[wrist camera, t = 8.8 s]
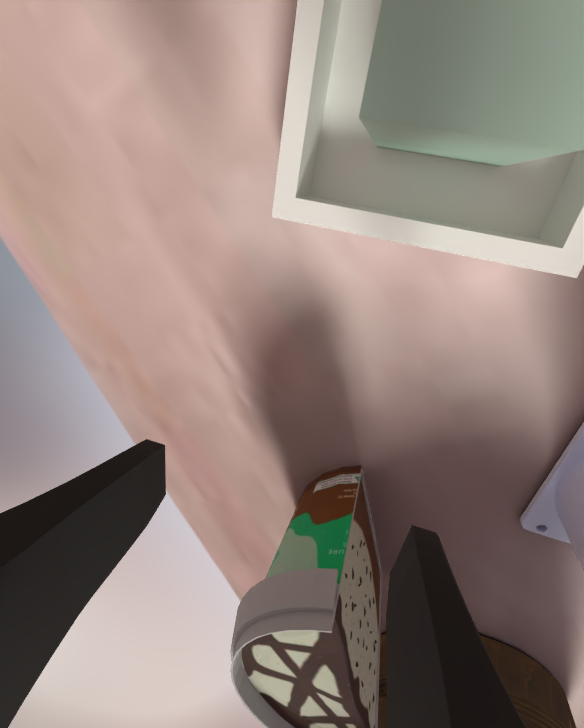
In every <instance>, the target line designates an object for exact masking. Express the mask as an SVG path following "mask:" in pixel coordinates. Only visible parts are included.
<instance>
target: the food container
mask: <svg viewBox="0 0 584 728" xmlns="http://www.w3.org/2000/svg"><path fill="white" fill-rule="evenodd" d="M381 603H382V568H381V563H380V557H379V552H378V547H377V542H376V536H375V531H374V526H373V521H372V516H371V510H370V505H369V500H368V495H367V489H366V484H365V479H364V474H363V469H362V466H351V467H342V468H339V469H336V470H333V471H330V472H327V473H324V474H322V475H321V476H319V477H318V478H317V479H315V480H314V481H313V482H312V483H310V484H309V485H308V486H307V488H306V489H305V491H304V493H303V495H302V497H301V499H300V501H299V503H298V505H297V508H296V510H295V512H294V514H293V517H292V519H291V521H290V524H289V526H288V528H287V530H286V533H285V535H284V537H283V540H282V542H281V544H280V546H279V549H278V551H277V553H276V556H275V558H274V560H273V563H272V565H271V567H270V569H269V572H268V574H267V576H266V579H265V580H262V581H261V582H259V583H258V584H256V585H255V586H253V587H252V588H251V589H250V590H249V591H248V592H247V593H246V594H245V596H244V597H243V598H242V600H241V602H240V605H239V607H238V611H237V616H236V622H235V628H234V633H233V639H232V645H231V660H232V664H231V677H232V682H233V685H234V687H235V690H236V692H237V694H238V695H239V697H240V699H241V700H242V702H243V703H244V705H245V706H246V707H247V708H248V710H249V711H250V712H251V713H252V714H253V715H254V716H255V717H256V718H257V719H258V720H259V721H260V722H261V723H262V724H263V725H264V726H265V727H267V728H378V698H379V666H380V635H381Z"/></svg>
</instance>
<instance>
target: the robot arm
mask: <svg viewBox="0 0 584 728" xmlns="http://www.w3.org/2000/svg"><path fill="white" fill-rule="evenodd" d="M165 495H166V482H165V445H163V444H160V443H157V442H154V441H151V440H147V439H146V440H144V441H142V442H140V443H139V444H137V445H135V446H133V447H131V448H129V449H128V450H126V451H124V452H122V453H120V454H118V455H117V456H115V457H113V458H111V459H109V460H107V461H106V462H104V463H102V464H100V465H99V466H97V467H95V468H93V469H91V470H89V471H87V472H85V473H83V474H81V475H79V476H78V477H76V478H74V479H72V480H70V481H68V482H66V483H64V484H62V485H60V486H58V487H56V488H54V489H52V490H50V491H48V492H46V493H44V494H42V495H40V496H37V497H35V498H33V499H31V500H29V501H28V502H25V503H23V504H21V505H18V506H16V507H14V508H12V509H9V510H7V511H5V512H2V513H0V728H8V727H9V725H10V723H11V721H12V720H13V718H14V716H15V715H16V713H17V711H18V710H19V708H20V706H21V705H22V703H23V701H24V700H25V698H26V697H27V695H28V693H29V692H30V690H31V688H32V687H33V685H34V684H35V682H36V681H37V679H38V677H39V676H40V674H41V672H42V671H43V669H44V668H45V666H46V664H47V663H48V661H49V660H50V658H51V657H52V655H53V653H54V652H55V650H56V649H57V647H58V646H59V644H60V643H61V641H62V640H63V638H64V637H65V635H66V633H67V632H68V630H69V629H70V627H71V626H72V624H73V623H74V621H75V620H76V618H77V617H78V615H79V614H80V613H81V611H82V610H83V608H84V607H85V606H86V604H87V603H88V602H89V600H90V599H91V597H92V596H93V595H94V593H95V592H96V591H97V590H98V588H99V587H100V586H101V585H102V583H103V582H104V581H105V579H106V578H107V577H108V576H109V574H110V573H111V572H112V570H113V569H114V568H115V567H116V565H117V564H118V563H119V561H120V560H121V559H122V557H123V556H124V555H125V554H126V552H127V551H128V550H129V549H130V547H131V546H132V545H133V543H134V542H135V541H136V539H137V538H138V537H139V536H140V534H141V533H142V531H143V530H144V529H145V527H146V526H147V525H148V523H149V521H150V520H151V518H152V517H153V515H154V513H155V512H156V510H157V508H158V507H159V505H160V503H161V502H162V500H163V498H164V496H165ZM520 522H521V525H522V527H523V528H524V529H525V530H527V531H530V532H534V533H537V534H540V535H543V536H547V537H550V538H553V539H556V540H559V541H563V542H566V543H569V544H572V547H573V549H574V551H575V553H576V555H577V557H578V559H579V561H580V563H581V566H582V568H583V570H584V422H583V424H582V425H581V427H580V428H579V430H578V431H577V433H576V434H575V436H574V437H573V439H572V440H571V442H570V443H569V445H568V446H567V448H566V449H565V451H564V452H563V454H562V455H561V457H560V458H559V460H558V461H557V463H556V464H555V466H554V467H553V469H552V470H551V472H550V473H549V475H548V477H547V478H546V480H545V481H544V483H543V484H542V486H541V487H540V489H539V490H538V492H537V493H536V495H535V496H534V498H533V499H532V501H531V502H530V504H529V505H528V507H527V508H526V510H525V511H524V513H523V514H522V516H521V517H520ZM538 525H543V526H538ZM386 635H387V728H526V726H525V724H524V723H523V721H522V719H521V717H520V715H519V713H518V712H517V710H516V708H515V706H514V704H513V702H512V700H511V698H510V696H509V694H508V693H507V691H506V689H505V687H504V685H503V683H502V681H501V679H500V677H499V675H498V673H497V671H496V669H495V667H494V665H493V663H492V661H491V659H490V657H489V655H488V652H487V650H486V648H485V646H484V644H483V642H482V640H481V638H480V635H479V633H478V631H477V629H476V627H475V624H474V622H473V620H472V618H471V615H470V613H469V611H468V609H467V607H466V604H465V602H464V600H463V597H462V595H461V593H460V590H459V588H458V585H457V583H456V580H455V578H454V576H453V573H452V571H451V568H450V566H449V563H448V560H447V558H446V555H445V553H444V550H443V547H442V545H441V542H440V539H439V537H438V535H437V534H436V533H435V532H432V531H429V530H426V529H422V528H419V527H416V526H413V525H412V527H411V529H410V531H409V533H408V536H407V538H406V540H405V542H404V544H403V546H402V549H401V551H400V553H399V555H398V557H397V559H396V562H395V564H394V566H393V568H392V570H391V572H390V581H389V591H388V602H387V614H386Z"/></svg>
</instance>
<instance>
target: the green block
mask: <svg viewBox="0 0 584 728" xmlns="http://www.w3.org/2000/svg"><path fill="white" fill-rule="evenodd" d="M359 119H360V120H361V122H362V124H363V125H364V127H365V128H366V130H367V132H368V133H369V135H370V136H371V138H372V140H373V141H374V143H375V144H376V146H377V147H379V148H385V149H392V150H398V151H404V152H411V153H417V154H423V155H430V156H436V157H442V158H449V159H455V160H462V161H468V162H474V163H481V164H487V165H493V166H505V165H510V164H515V163H520V162H525V161H530V160H535V159H540V158H545V157H551V156H556V155H561V154H566V153H571V152H576V151H581V150H583V148H584V0H382V3H381V8H380V13H379V18H378V23H377V28H376V33H375V38H374V43H373V48H372V53H371V58H370V63H369V68H368V73H367V78H366V83H365V88H364V93H363V98H362V103H361V108H360V113H359Z"/></svg>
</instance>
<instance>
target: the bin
mask: <svg viewBox="0 0 584 728" xmlns="http://www.w3.org/2000/svg"><path fill="white" fill-rule="evenodd" d="M381 3H382V0H298V2H297V10H296V18H295V27H294V35H293V44H292V52H291V60H290V69H289V77H288V85H287V94H286V102H285V110H284V119H283V127H282V136H281V144H280V152H279V161H278V169H277V177H276V186H275V194H274V203H273V211H272V217H273V218H278V219H283V220H288V221H293V222H298V223H303V224H308V225H313V226H318V227H323V228H328V229H333V230H338V231H343V232H348V233H353V234H358V235H363V236H368V237H373V238H378V239H383V240H388V241H393V242H398V243H403V244H408V245H413V246H418V247H423V248H428V249H433V250H438V251H443V252H448V253H453V254H458V255H463V256H468V257H473V258H478V259H483V260H488V261H493V262H498V263H503V264H508V265H513V266H518V267H523V268H528V269H533V270H538V271H543V272H548V273H553V274H558V275H563V276H568V277H573V278H577V277H578V275H579V273H580V271H581V269H582V267H583V265H584V148H583V150H581V151H576V152H571V153H566V154H561V155H556V156H551V157H545V158H540V159H535V160H530V161H525V162H520V163H515V164H510V165H505V166H493V165H487V164H481V163H474V162H468V161H462V160H455V159H449V158H442V157H436V156H430V155H423V154H417V153H411V152H404V151H398V150H392V149H385V148H379V147H377V146H376V144H375V143H374V141H373V140H372V138H371V136H370V135H369V133H368V132H367V130H366V128H365V127H364V125H363V124H362V122H361V120H360V119H359V113H360V108H361V103H362V98H363V93H364V88H365V83H366V78H367V73H368V68H369V63H370V58H371V53H372V48H373V43H374V38H375V33H376V28H377V23H378V18H379V13H380V8H381Z"/></svg>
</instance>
